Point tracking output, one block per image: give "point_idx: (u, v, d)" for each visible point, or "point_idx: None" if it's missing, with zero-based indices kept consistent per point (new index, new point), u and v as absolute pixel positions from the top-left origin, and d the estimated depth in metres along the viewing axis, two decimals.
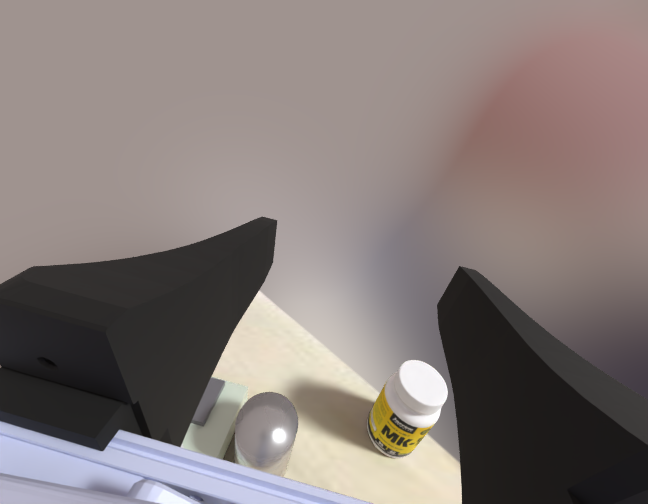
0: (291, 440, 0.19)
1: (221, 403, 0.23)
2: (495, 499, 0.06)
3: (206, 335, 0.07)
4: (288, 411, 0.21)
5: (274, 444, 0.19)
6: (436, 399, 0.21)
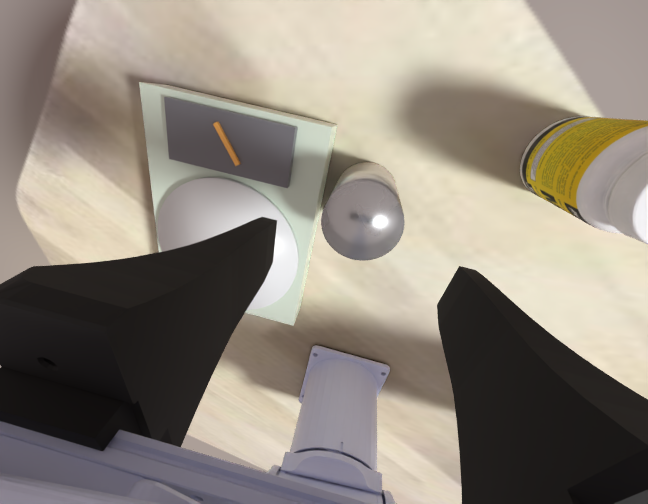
0: (393, 245, 0.15)
1: (301, 156, 0.17)
2: (495, 499, 0.06)
3: (206, 335, 0.07)
4: (390, 211, 0.14)
5: (372, 248, 0.15)
6: None
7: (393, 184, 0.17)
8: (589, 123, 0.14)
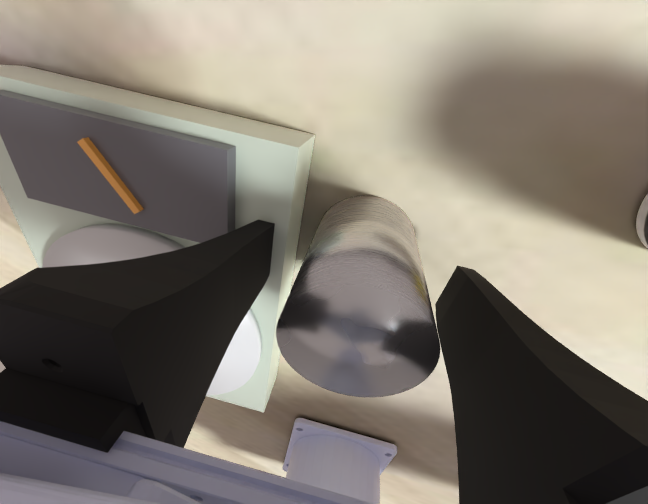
0: (415, 382, 0.08)
1: (248, 196, 0.10)
2: (492, 498, 0.06)
3: (209, 336, 0.07)
4: (413, 334, 0.07)
5: (374, 383, 0.08)
6: None
7: (413, 250, 0.09)
8: None
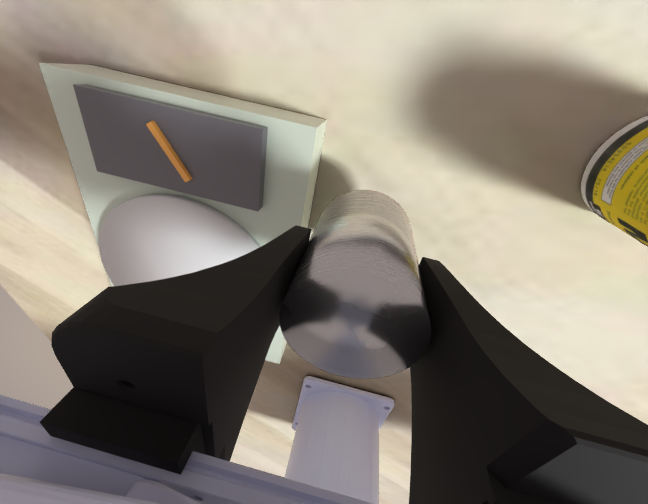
0: (409, 364, 0.08)
1: (275, 167, 0.12)
2: (434, 482, 0.06)
3: (256, 349, 0.07)
4: (406, 318, 0.07)
5: (370, 365, 0.09)
6: None
7: (408, 242, 0.10)
8: None
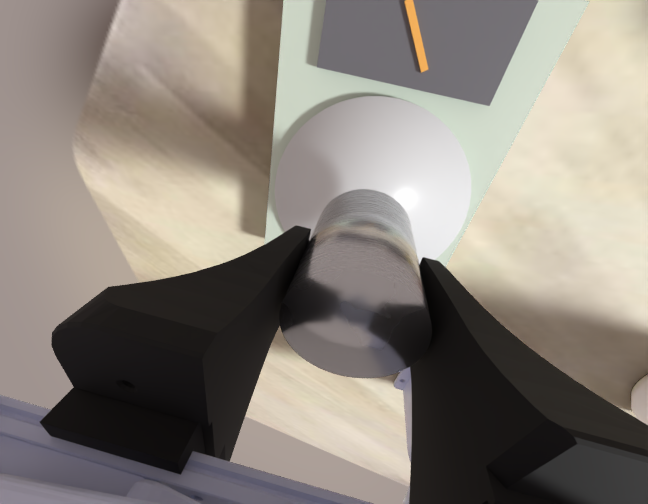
0: (409, 363, 0.08)
1: (519, 55, 0.12)
2: (434, 481, 0.06)
3: (256, 349, 0.07)
4: (407, 317, 0.07)
5: (371, 364, 0.09)
6: None
7: (409, 241, 0.10)
8: None
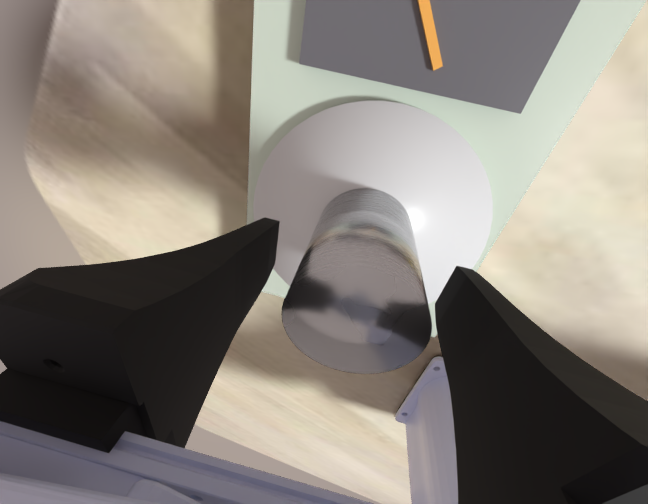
0: (410, 359, 0.09)
1: (562, 47, 0.09)
2: (490, 498, 0.06)
3: (210, 336, 0.07)
4: (407, 312, 0.08)
5: (372, 360, 0.09)
6: None
7: (409, 239, 0.10)
8: None
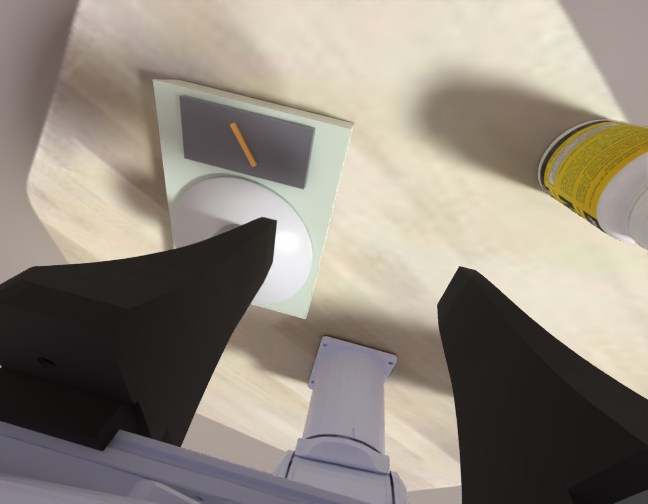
0: None
1: (318, 157, 0.17)
2: (495, 499, 0.06)
3: (206, 335, 0.07)
4: None
5: None
6: None
7: None
8: (614, 130, 0.13)
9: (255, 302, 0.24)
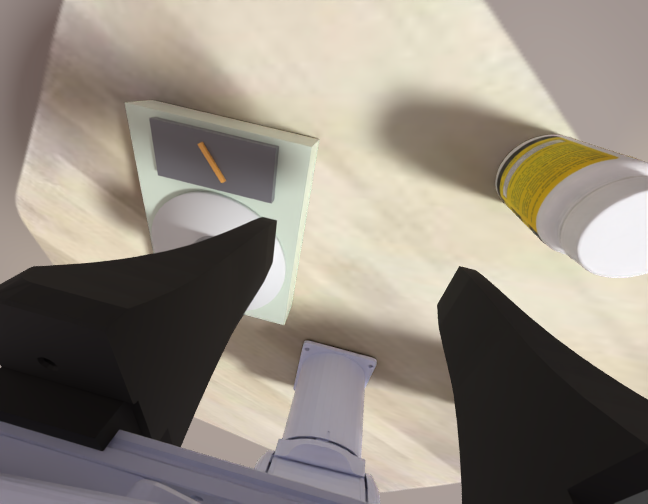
0: None
1: (283, 173, 0.18)
2: (495, 499, 0.06)
3: (206, 335, 0.07)
4: None
5: None
6: (634, 269, 0.11)
7: None
8: (555, 147, 0.14)
9: None
